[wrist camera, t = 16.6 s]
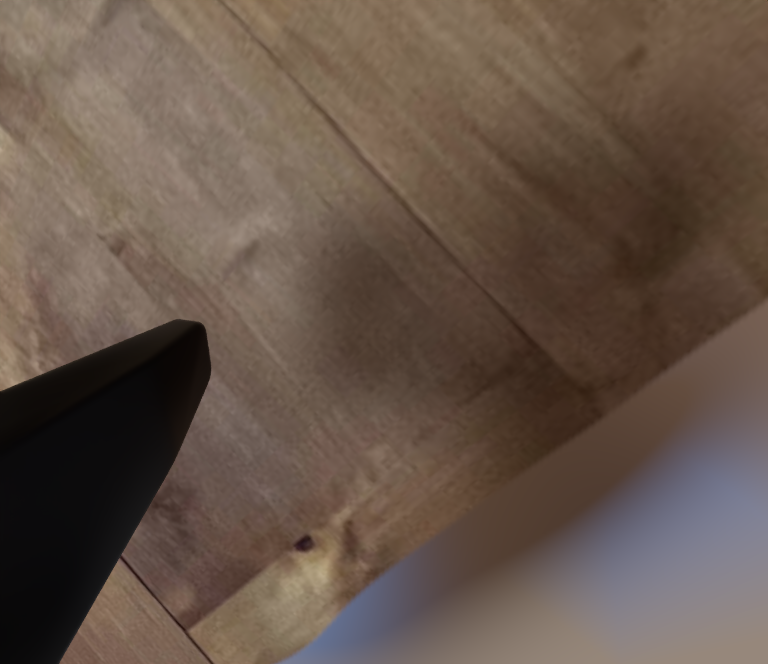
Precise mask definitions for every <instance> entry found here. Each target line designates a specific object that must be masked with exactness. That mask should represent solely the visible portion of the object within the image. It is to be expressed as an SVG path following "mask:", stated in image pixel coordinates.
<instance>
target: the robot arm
mask: <svg viewBox="0 0 768 664" xmlns="http://www.w3.org/2000/svg"><path fill="white" fill-rule="evenodd" d="M210 375H211V361H210V354H209V347H208V340H207V333H206V329H205V327H204V325H203V324H202V323H200V322H196V321H189V320H181V319H176V320H173V321H170V322H168V323H166V324H163V325H161V326H158V327H156V328H153V329H151V330H148V331H146V332H144V333H141V334H139V335H136V336H134V337H131V338H129V339H127V340H124V341H122V342H119V343H117V344H114V345H112V346H110V347H107V348H105V349H102V350H100V351H97V352H95V353H93V354H90V355H88V356H85V357H83V358H80V359H78V360H76V361H73V362H71V363H68V364H66V365H63V366H61V367H58V368H56V369H54V370H51V371H49V372H46V373H44V374H41V375H39V376H37V377H34V378H32V379H29V380H27V381H24V382H22V383H20V384H17V385H15V386H12V387H10V388H7V389H5V390H3V391H0V664H59V662H60V661H61V659H62V657H63V655H64V654H65V652H66V650H67V648H68V647H69V645H70V643H71V642H72V640H73V638H74V636H75V635H76V633H77V631H78V629H79V628H80V626H81V624H82V622H83V621H84V619H85V617H86V615H87V614H88V612H89V610H90V608H91V607H92V605H93V603H94V601H95V600H96V598H97V596H98V594H99V593H100V591H101V589H102V587H103V586H104V584H105V582H106V580H107V579H108V577H109V575H110V573H111V572H112V570H113V568H114V566H115V565H116V563H117V561H118V559H119V558H120V556H121V554H122V553H123V551H124V549H125V547H126V546H127V544H128V542H129V540H130V539H131V537H132V535H133V533H134V532H135V530H136V528H137V526H138V525H139V523H140V521H141V519H142V518H143V516H144V514H145V512H146V511H147V509H148V507H149V505H150V504H151V502H152V500H153V498H154V497H155V495H156V493H157V491H158V490H159V488H160V486H161V484H162V483H163V481H164V479H165V477H166V476H167V474H168V472H169V470H170V468H171V466H172V465H173V463H174V461H175V459H176V457H177V454H178V452H179V450H180V448H181V446H182V443H183V441H184V439H185V436H186V434H187V432H188V429H189V427H190V425H191V422H192V420H193V418H194V415H195V413H196V411H197V408H198V406H199V403H200V401H201V399H202V396H203V394H204V392H205V389H206V387H207V385H208V382H209V379H210Z"/></svg>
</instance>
